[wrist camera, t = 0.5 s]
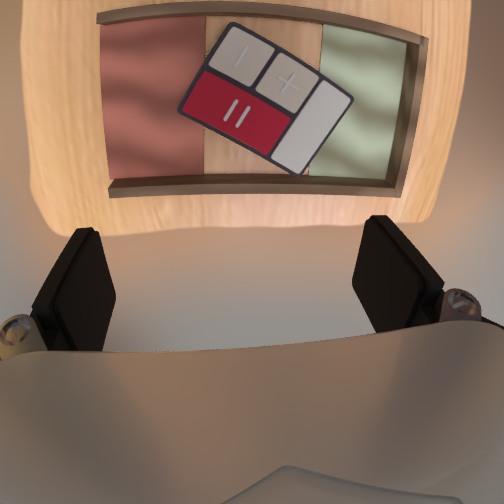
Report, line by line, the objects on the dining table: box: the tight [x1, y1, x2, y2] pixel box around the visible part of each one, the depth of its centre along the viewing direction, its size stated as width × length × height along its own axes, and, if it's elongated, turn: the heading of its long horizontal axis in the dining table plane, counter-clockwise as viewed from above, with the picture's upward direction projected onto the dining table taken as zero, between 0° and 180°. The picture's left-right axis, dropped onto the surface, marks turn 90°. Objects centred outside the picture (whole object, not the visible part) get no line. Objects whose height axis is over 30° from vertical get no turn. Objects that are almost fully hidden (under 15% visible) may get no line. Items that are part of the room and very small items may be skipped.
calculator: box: [177, 22, 354, 177], centre depth 31 cm, size 11×4×15 cm
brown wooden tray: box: [96, 1, 429, 198], centre depth 31 cm, size 21×36×3 cm, turn 87°
